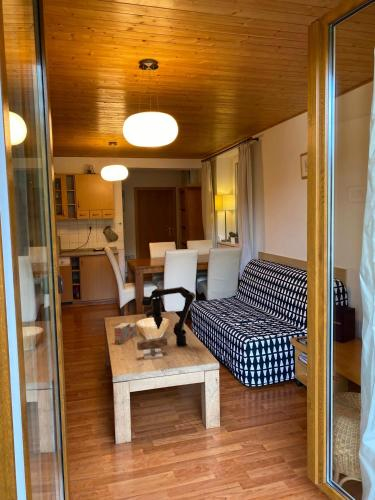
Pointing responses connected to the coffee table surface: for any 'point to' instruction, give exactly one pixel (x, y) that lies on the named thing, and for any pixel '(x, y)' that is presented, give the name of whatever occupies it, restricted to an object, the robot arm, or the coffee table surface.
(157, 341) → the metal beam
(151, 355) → the fulcrum
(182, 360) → the coffee table surface
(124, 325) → the stack of blocks
